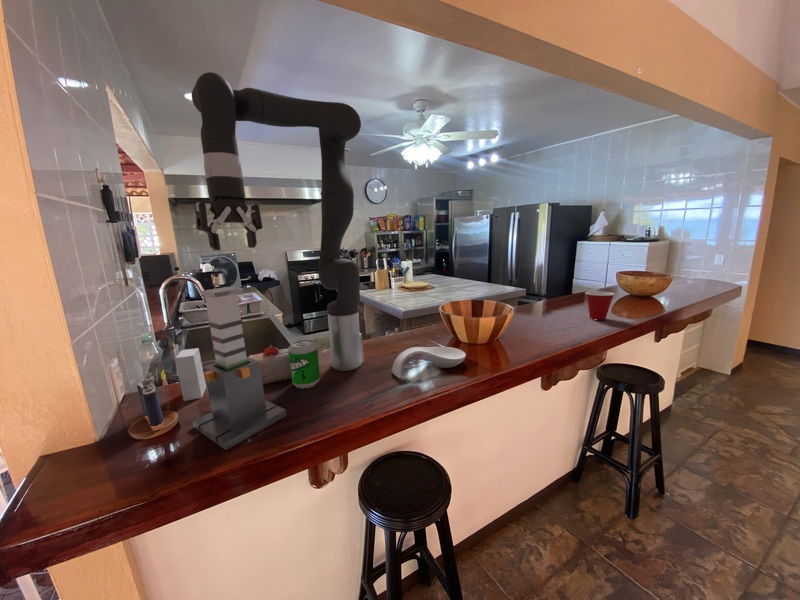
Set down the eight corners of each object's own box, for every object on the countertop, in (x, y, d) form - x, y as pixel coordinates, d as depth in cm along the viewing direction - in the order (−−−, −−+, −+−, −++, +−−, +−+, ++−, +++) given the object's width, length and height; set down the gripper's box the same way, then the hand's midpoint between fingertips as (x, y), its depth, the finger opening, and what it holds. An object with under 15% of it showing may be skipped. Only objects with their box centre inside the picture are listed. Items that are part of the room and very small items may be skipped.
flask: (143, 417, 75) (133, 375, 73) (158, 412, 77) (149, 371, 75) (152, 433, 69) (141, 388, 67) (168, 427, 71) (159, 383, 69)
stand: (253, 399, 82) (245, 347, 79) (286, 415, 74) (279, 359, 71) (193, 427, 71) (182, 368, 68) (225, 450, 63) (214, 385, 60)
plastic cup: (604, 315, 144) (607, 289, 142) (617, 322, 134) (620, 294, 131) (578, 315, 146) (581, 289, 143) (589, 322, 136) (592, 294, 133)
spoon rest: (450, 354, 107) (450, 333, 106) (473, 366, 97) (473, 344, 96) (386, 369, 97) (385, 347, 96) (404, 385, 87) (404, 361, 85)
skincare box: (188, 391, 87) (180, 349, 85) (206, 387, 89) (199, 347, 86) (182, 401, 82) (174, 358, 79) (201, 398, 83) (193, 355, 81)
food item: (249, 390, 87) (244, 356, 85) (249, 378, 94) (244, 347, 92) (301, 379, 92) (297, 347, 90) (297, 369, 99) (294, 339, 97)
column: (242, 388, 74) (227, 286, 69) (254, 394, 72) (238, 288, 66) (220, 398, 70) (201, 290, 65) (231, 404, 68) (212, 292, 62)
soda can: (310, 375, 95) (306, 336, 92) (325, 382, 90) (322, 341, 87) (287, 385, 89) (282, 344, 86) (302, 393, 84) (298, 350, 82)
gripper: (245, 182, 81) (254, 246, 84) (182, 175, 69) (195, 251, 73) (262, 178, 76) (270, 247, 80) (198, 171, 65) (211, 251, 69)
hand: (235, 248), depth 76 cm, fingers open, 8 cm apart
